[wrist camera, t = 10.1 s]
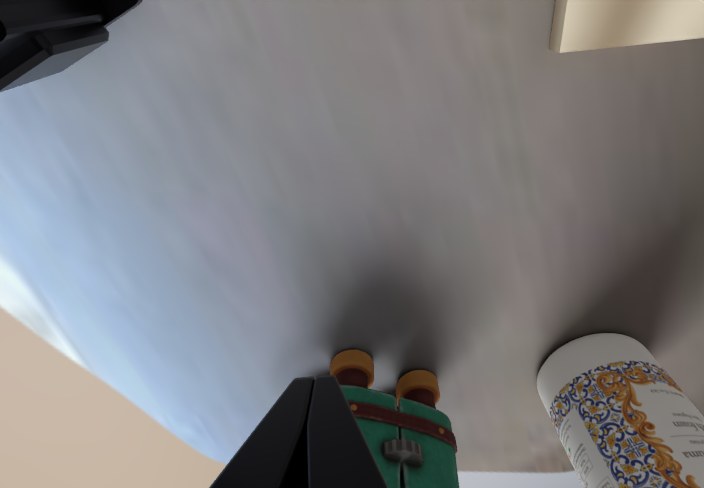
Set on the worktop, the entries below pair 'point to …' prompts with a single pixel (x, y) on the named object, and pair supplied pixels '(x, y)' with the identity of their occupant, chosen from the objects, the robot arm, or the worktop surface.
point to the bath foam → (622, 415)
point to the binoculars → (400, 424)
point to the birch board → (623, 23)
